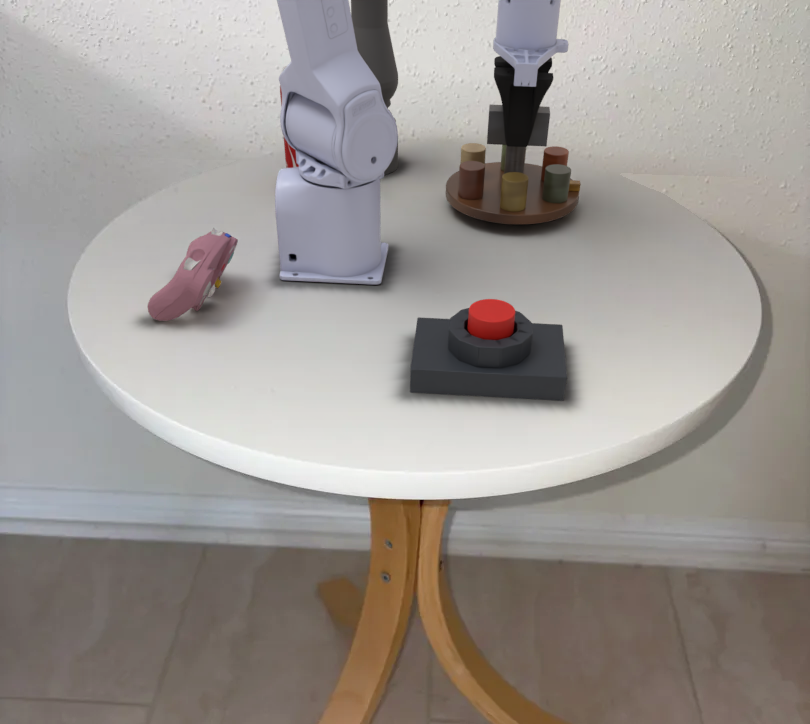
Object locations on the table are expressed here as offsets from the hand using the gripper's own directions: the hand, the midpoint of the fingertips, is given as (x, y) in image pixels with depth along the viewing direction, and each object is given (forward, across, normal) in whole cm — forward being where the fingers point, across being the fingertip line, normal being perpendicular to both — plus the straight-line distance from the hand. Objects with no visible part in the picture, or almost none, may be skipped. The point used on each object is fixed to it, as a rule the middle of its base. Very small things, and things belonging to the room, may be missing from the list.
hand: (516, 140), depth 92 cm
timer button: (+3, -32, +2) cm, 32 cm away
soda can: (+7, +4, +22) cm, 23 cm away
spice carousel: (+6, 0, 0) cm, 6 cm away
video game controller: (+7, -23, +28) cm, 37 cm away
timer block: (+7, -32, +2) cm, 33 cm away
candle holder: (+7, +10, +16) cm, 20 cm away
